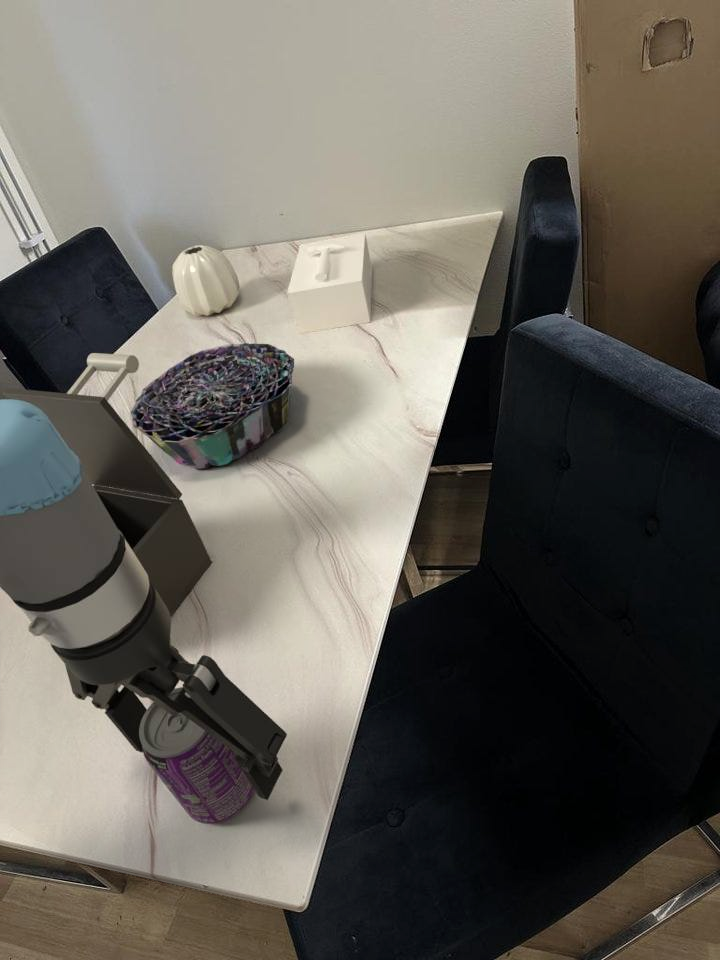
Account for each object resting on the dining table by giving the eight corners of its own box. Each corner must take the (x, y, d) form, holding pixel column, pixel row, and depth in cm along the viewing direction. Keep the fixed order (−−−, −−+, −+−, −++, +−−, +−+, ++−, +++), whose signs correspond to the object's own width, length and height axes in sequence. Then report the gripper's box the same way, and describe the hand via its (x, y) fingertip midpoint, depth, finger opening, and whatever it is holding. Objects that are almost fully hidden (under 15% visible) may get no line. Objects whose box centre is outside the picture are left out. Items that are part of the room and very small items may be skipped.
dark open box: (137, 662, 75) (95, 601, 68) (48, 635, 81) (1, 575, 74) (212, 561, 86) (182, 499, 79) (128, 543, 92) (94, 484, 85)
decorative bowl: (338, 406, 111) (328, 352, 106) (227, 500, 94) (207, 442, 88) (229, 383, 125) (214, 334, 119) (114, 462, 108) (90, 409, 102)
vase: (185, 303, 155) (163, 247, 146) (242, 288, 155) (224, 231, 147) (183, 328, 144) (160, 269, 136) (245, 312, 144) (226, 252, 136)
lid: (99, 402, 66) (149, 335, 71) (2, 393, 72) (54, 331, 77) (179, 499, 78) (216, 436, 83) (90, 484, 84) (130, 426, 89)
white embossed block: (372, 270, 148) (363, 221, 141) (370, 322, 129) (359, 268, 122) (309, 281, 150) (297, 234, 143) (298, 334, 131) (283, 281, 124)
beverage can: (194, 753, 65) (147, 684, 58) (264, 749, 64) (225, 678, 57) (176, 829, 60) (121, 764, 52) (252, 825, 59) (207, 758, 51)
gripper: (-60, 614, 48) (76, 757, 62) (217, 703, 38) (310, 852, 51) (15, 541, 53) (127, 688, 66) (279, 601, 43) (349, 762, 56)
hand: (206, 760), depth 59 cm, fingers open, 13 cm apart
